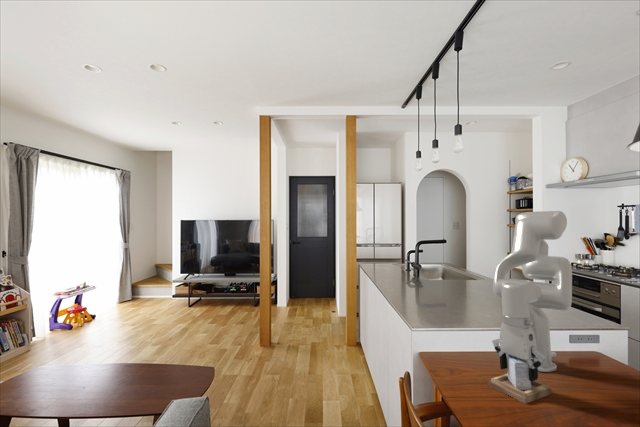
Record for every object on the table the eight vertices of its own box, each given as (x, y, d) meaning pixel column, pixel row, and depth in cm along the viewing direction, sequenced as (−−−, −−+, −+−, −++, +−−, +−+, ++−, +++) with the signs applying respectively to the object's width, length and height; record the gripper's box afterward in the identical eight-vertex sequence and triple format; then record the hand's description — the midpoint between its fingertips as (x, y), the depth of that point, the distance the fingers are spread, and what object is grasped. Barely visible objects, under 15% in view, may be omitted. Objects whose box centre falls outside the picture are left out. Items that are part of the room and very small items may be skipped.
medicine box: (531, 391, 103) (530, 363, 103) (515, 390, 103) (514, 362, 104) (521, 379, 110) (520, 353, 111) (507, 378, 111) (505, 352, 112)
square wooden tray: (513, 377, 115) (513, 370, 115) (551, 393, 104) (551, 385, 104) (488, 386, 109) (487, 378, 110) (525, 403, 98) (524, 395, 98)
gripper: (550, 326, 101) (553, 382, 101) (499, 313, 117) (501, 362, 116) (535, 329, 98) (538, 388, 97) (484, 316, 114) (487, 366, 113)
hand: (518, 374), depth 107 cm, fingers open, 9 cm apart
